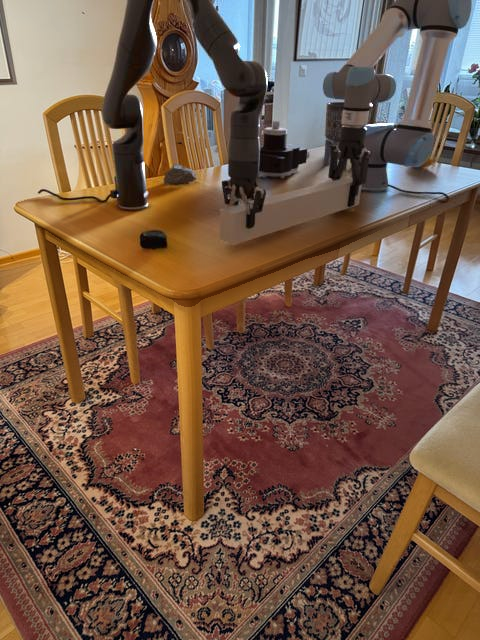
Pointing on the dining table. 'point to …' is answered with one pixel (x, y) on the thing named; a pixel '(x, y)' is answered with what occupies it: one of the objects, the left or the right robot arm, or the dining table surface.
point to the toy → (427, 163)
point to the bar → (286, 210)
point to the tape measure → (153, 239)
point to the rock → (179, 175)
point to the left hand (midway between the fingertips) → (242, 224)
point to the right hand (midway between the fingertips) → (343, 203)
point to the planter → (335, 127)
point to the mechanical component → (279, 153)
